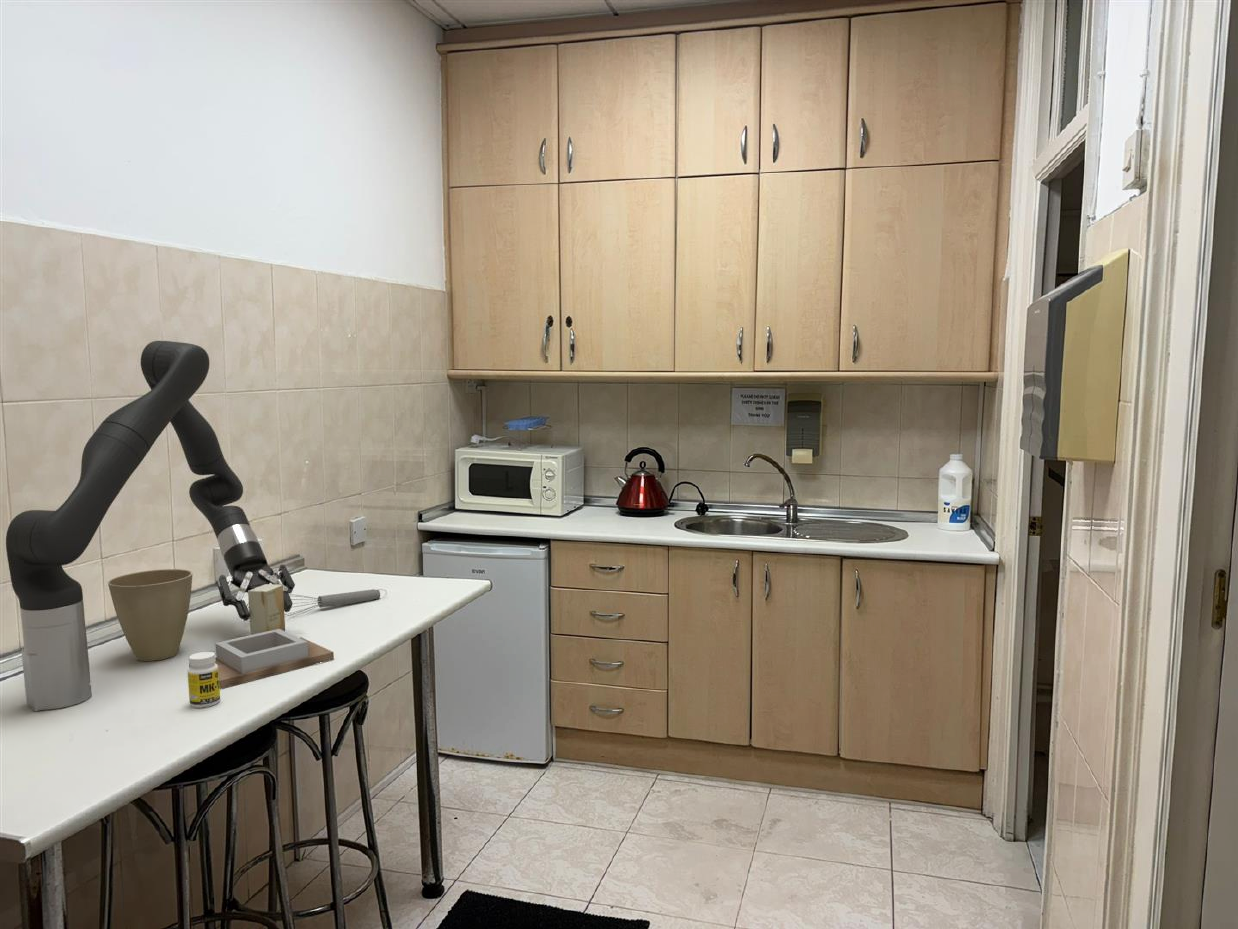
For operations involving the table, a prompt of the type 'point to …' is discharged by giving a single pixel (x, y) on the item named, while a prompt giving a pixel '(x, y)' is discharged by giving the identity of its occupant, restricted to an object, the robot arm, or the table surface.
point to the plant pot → (152, 610)
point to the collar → (261, 650)
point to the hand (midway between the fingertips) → (268, 614)
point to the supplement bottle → (203, 680)
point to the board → (234, 677)
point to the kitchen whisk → (339, 599)
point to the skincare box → (266, 608)
